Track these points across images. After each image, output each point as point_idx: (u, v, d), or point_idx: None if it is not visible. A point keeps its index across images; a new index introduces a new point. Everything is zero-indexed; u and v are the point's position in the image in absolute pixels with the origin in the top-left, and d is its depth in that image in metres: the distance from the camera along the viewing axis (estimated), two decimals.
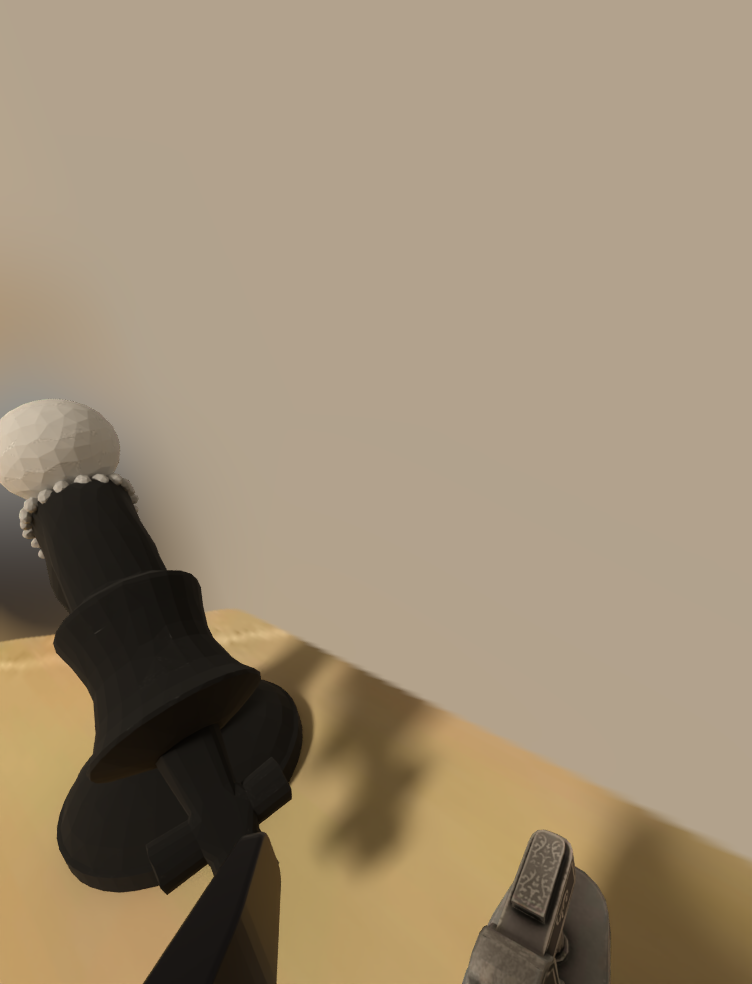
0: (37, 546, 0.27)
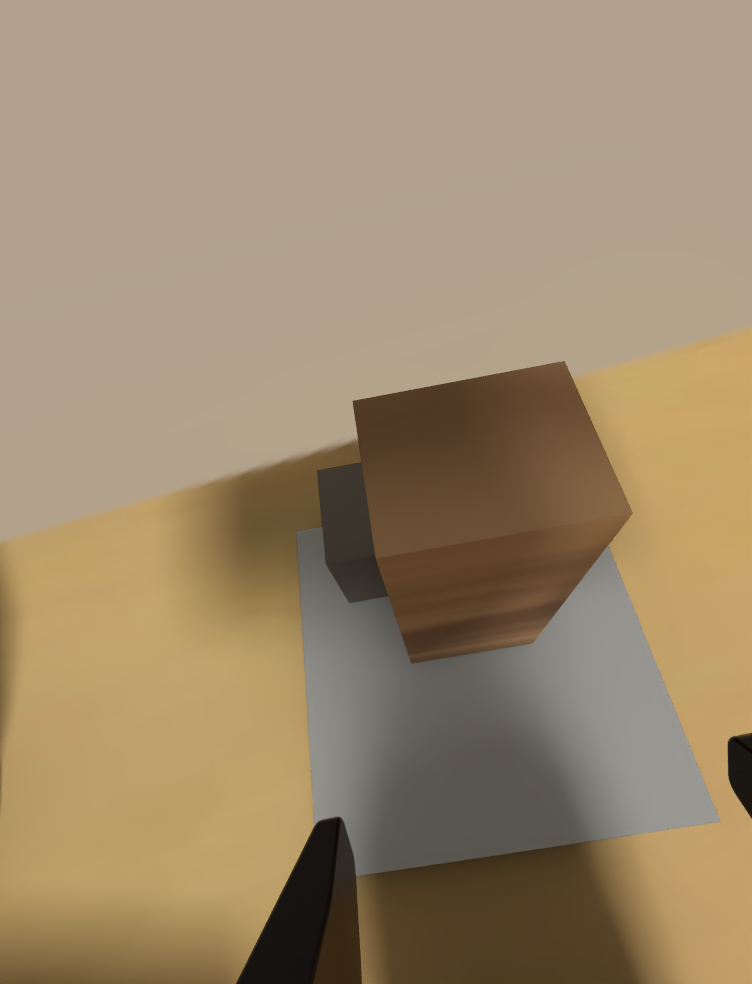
0: None
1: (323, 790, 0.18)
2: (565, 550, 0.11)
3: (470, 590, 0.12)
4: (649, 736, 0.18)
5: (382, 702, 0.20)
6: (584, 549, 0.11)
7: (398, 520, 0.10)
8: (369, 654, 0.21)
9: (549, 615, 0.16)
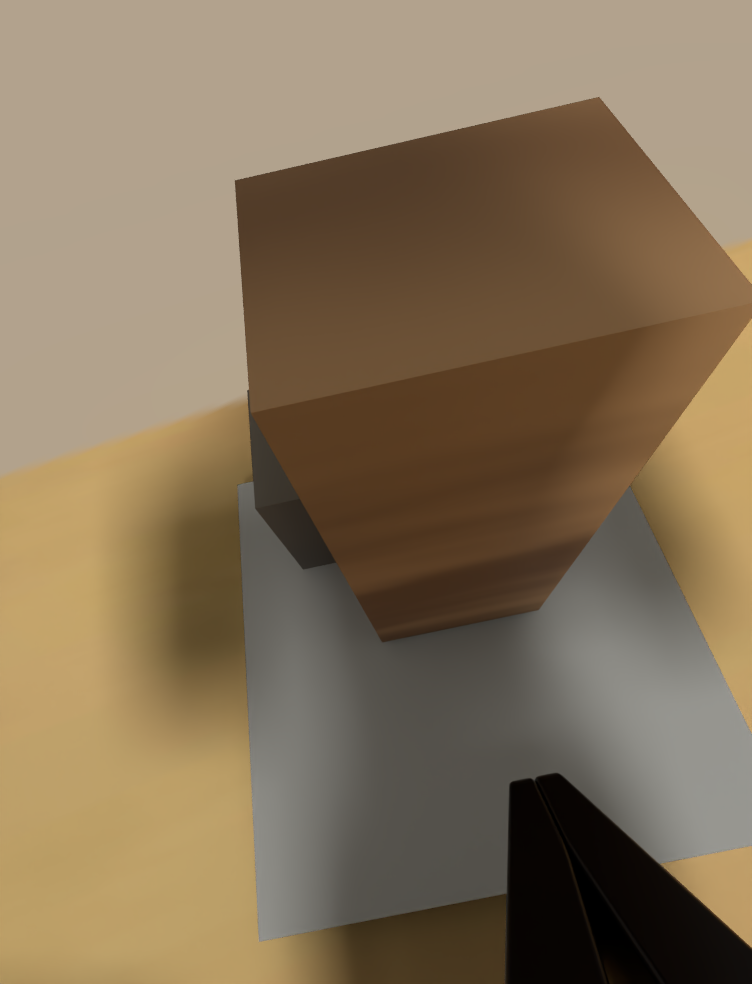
0: None
1: (268, 813, 0.14)
2: (613, 414, 0.06)
3: (449, 510, 0.07)
4: (697, 724, 0.14)
5: (345, 694, 0.15)
6: (646, 411, 0.06)
7: (299, 347, 0.05)
8: (328, 633, 0.16)
9: (566, 563, 0.11)
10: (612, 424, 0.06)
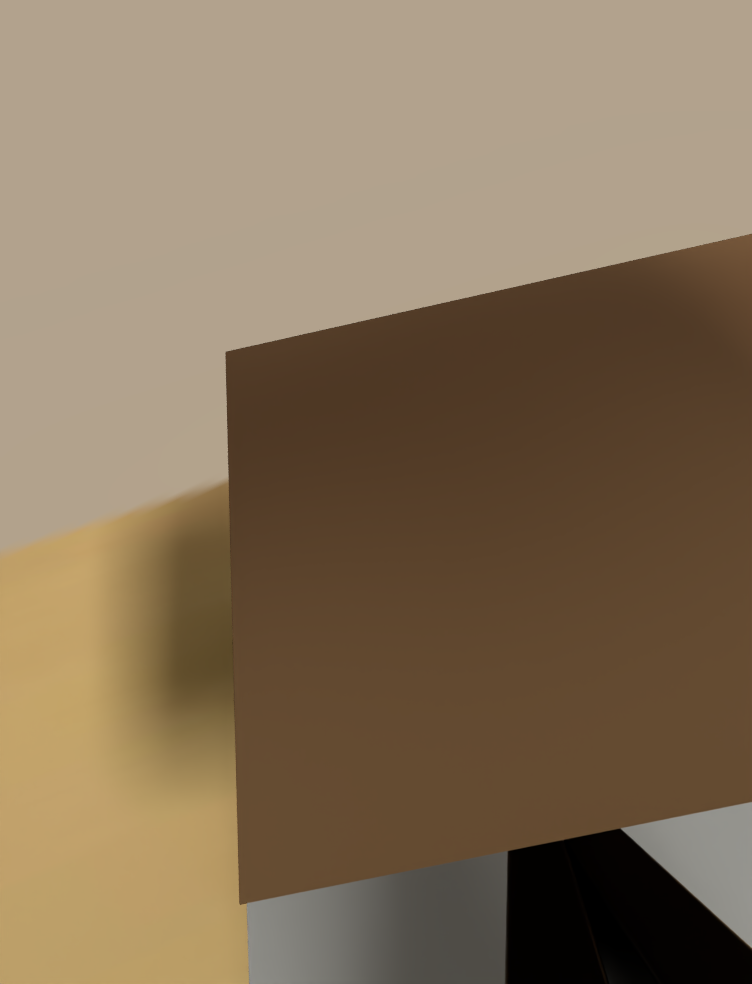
0: None
1: None
2: None
3: None
4: None
5: None
6: None
7: (331, 727, 0.03)
8: None
9: None
10: None
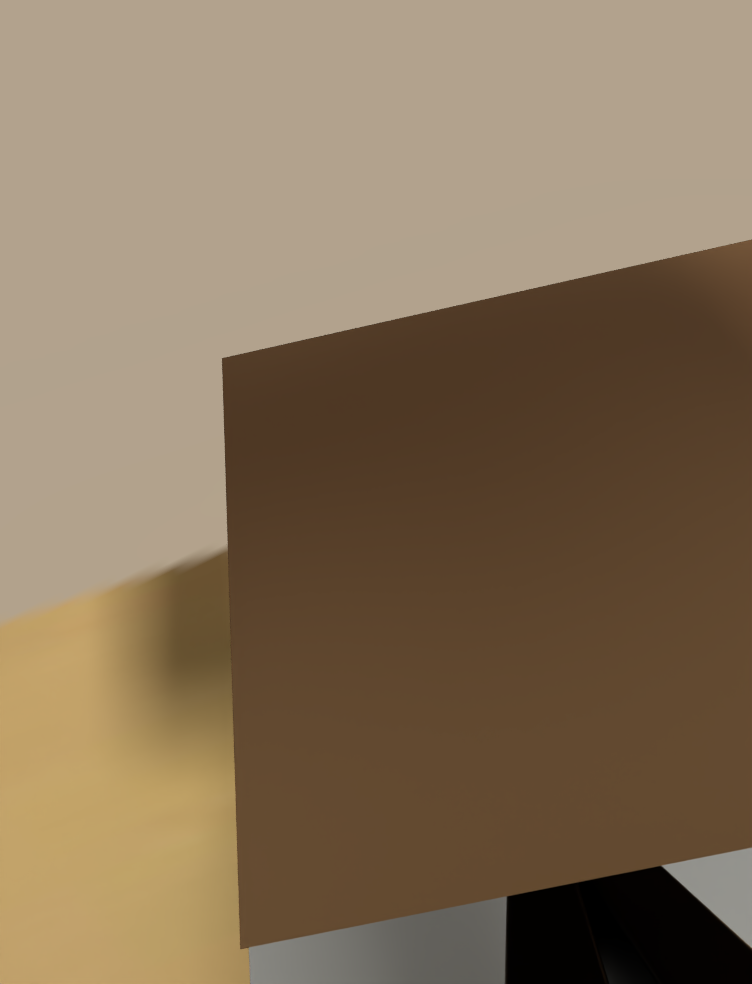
0: None
1: None
2: None
3: None
4: None
5: None
6: None
7: (333, 760, 0.03)
8: (361, 927, 0.12)
9: None
10: None
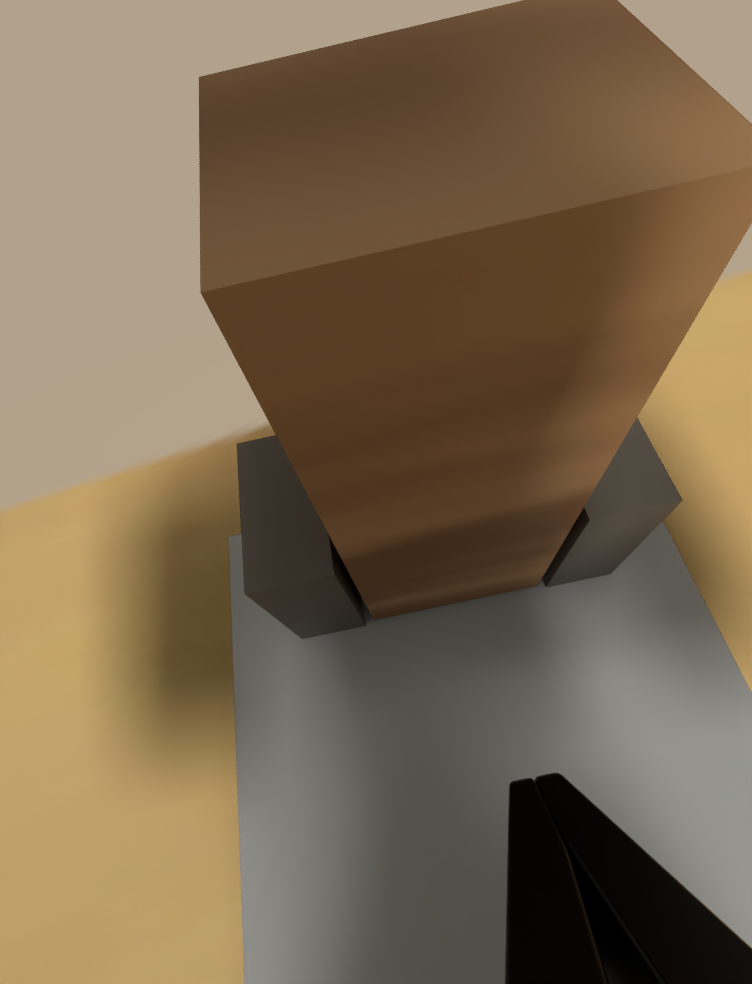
0: None
1: (261, 947, 0.12)
2: (616, 319, 0.05)
3: (438, 448, 0.07)
4: None
5: (352, 794, 0.13)
6: (652, 318, 0.05)
7: (260, 225, 0.04)
8: (332, 717, 0.14)
9: (565, 526, 0.11)
10: (614, 335, 0.06)
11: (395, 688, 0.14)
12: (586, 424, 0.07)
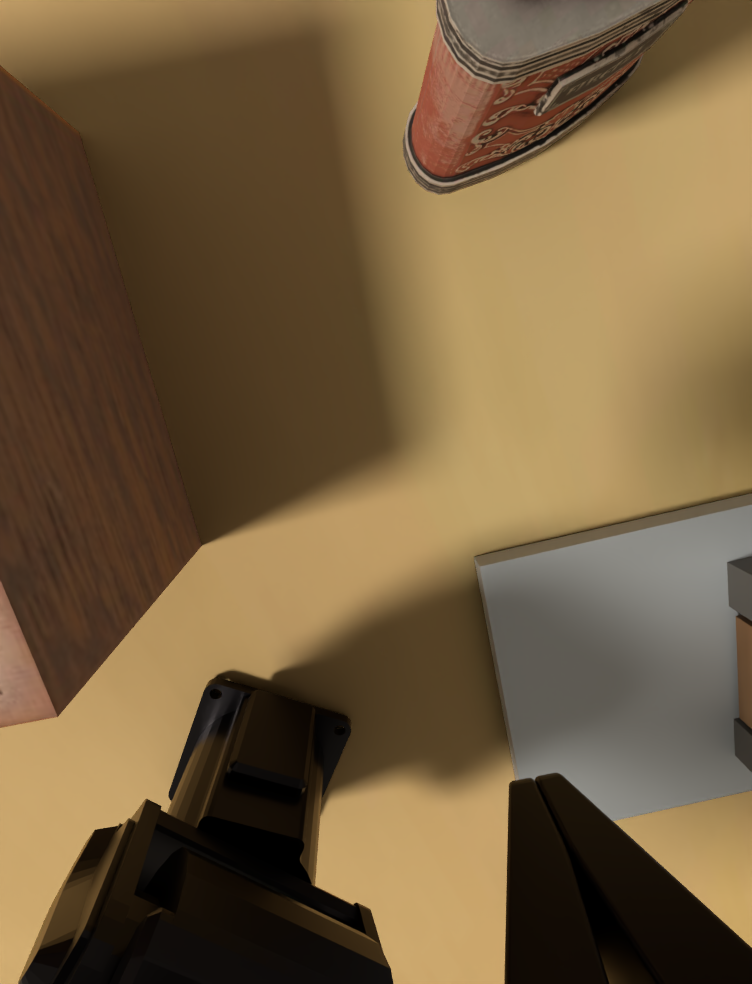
0: None
1: (549, 561, 0.19)
2: None
3: None
4: None
5: (623, 605, 0.20)
6: None
7: None
8: (670, 589, 0.20)
9: None
10: None
11: (683, 628, 0.20)
12: None
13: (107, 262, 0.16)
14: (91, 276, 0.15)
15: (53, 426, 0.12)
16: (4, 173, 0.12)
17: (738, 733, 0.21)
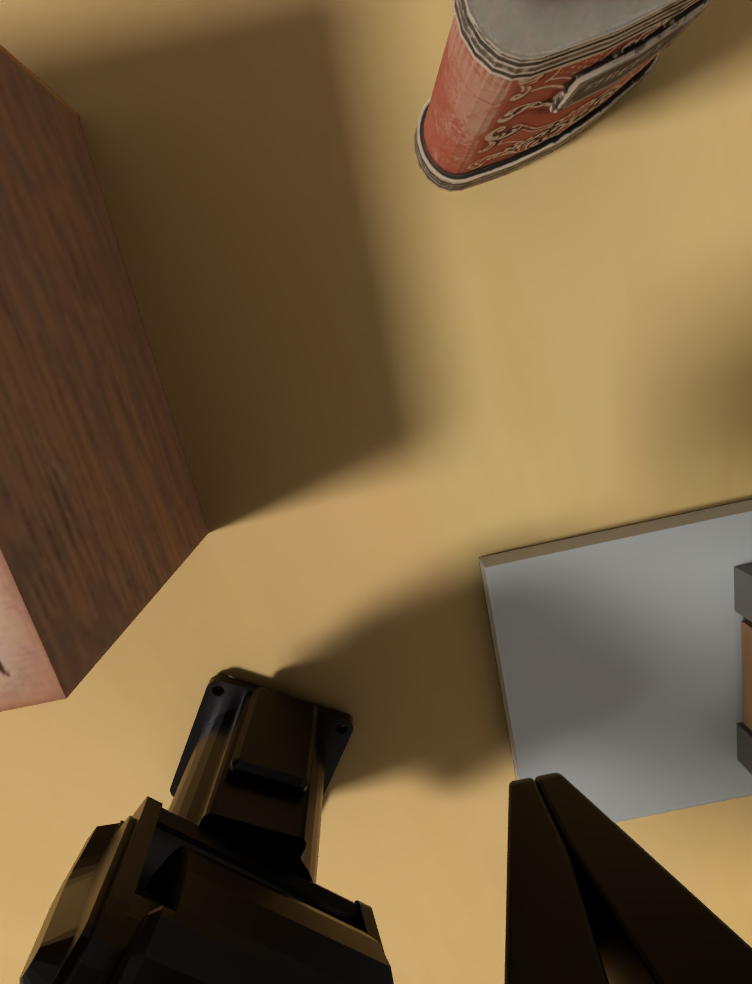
0: None
1: (555, 563, 0.19)
2: None
3: None
4: None
5: (628, 608, 0.20)
6: None
7: None
8: (675, 592, 0.19)
9: None
10: None
11: (688, 632, 0.20)
12: None
13: (108, 244, 0.16)
14: (92, 258, 0.14)
15: (56, 406, 0.11)
16: (1, 149, 0.11)
17: (741, 737, 0.21)
